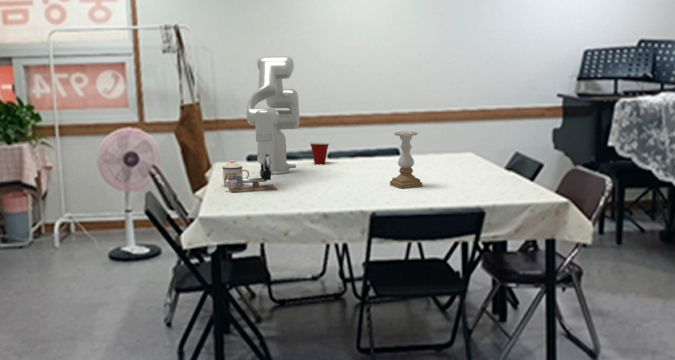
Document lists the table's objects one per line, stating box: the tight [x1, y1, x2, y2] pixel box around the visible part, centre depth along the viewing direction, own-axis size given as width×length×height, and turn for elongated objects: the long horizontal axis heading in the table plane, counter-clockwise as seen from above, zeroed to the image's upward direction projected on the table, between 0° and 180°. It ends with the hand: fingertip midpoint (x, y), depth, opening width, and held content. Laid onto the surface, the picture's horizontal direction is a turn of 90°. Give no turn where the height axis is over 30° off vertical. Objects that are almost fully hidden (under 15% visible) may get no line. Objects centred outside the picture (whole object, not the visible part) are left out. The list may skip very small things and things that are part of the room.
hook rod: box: [225, 169, 271, 185], centre depth 299 cm, size 21×5×5 cm, turn 107°
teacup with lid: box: [222, 159, 250, 188], centre depth 310 cm, size 12×9×12 cm
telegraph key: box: [228, 174, 278, 194], centre depth 299 cm, size 20×10×7 cm, turn 107°
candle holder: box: [389, 131, 423, 190], centre depth 300 cm, size 11×11×24 cm
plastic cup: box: [309, 142, 330, 165], centre depth 372 cm, size 11×11×12 cm
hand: (265, 178), depth 301 cm, fingers open, 5 cm apart
